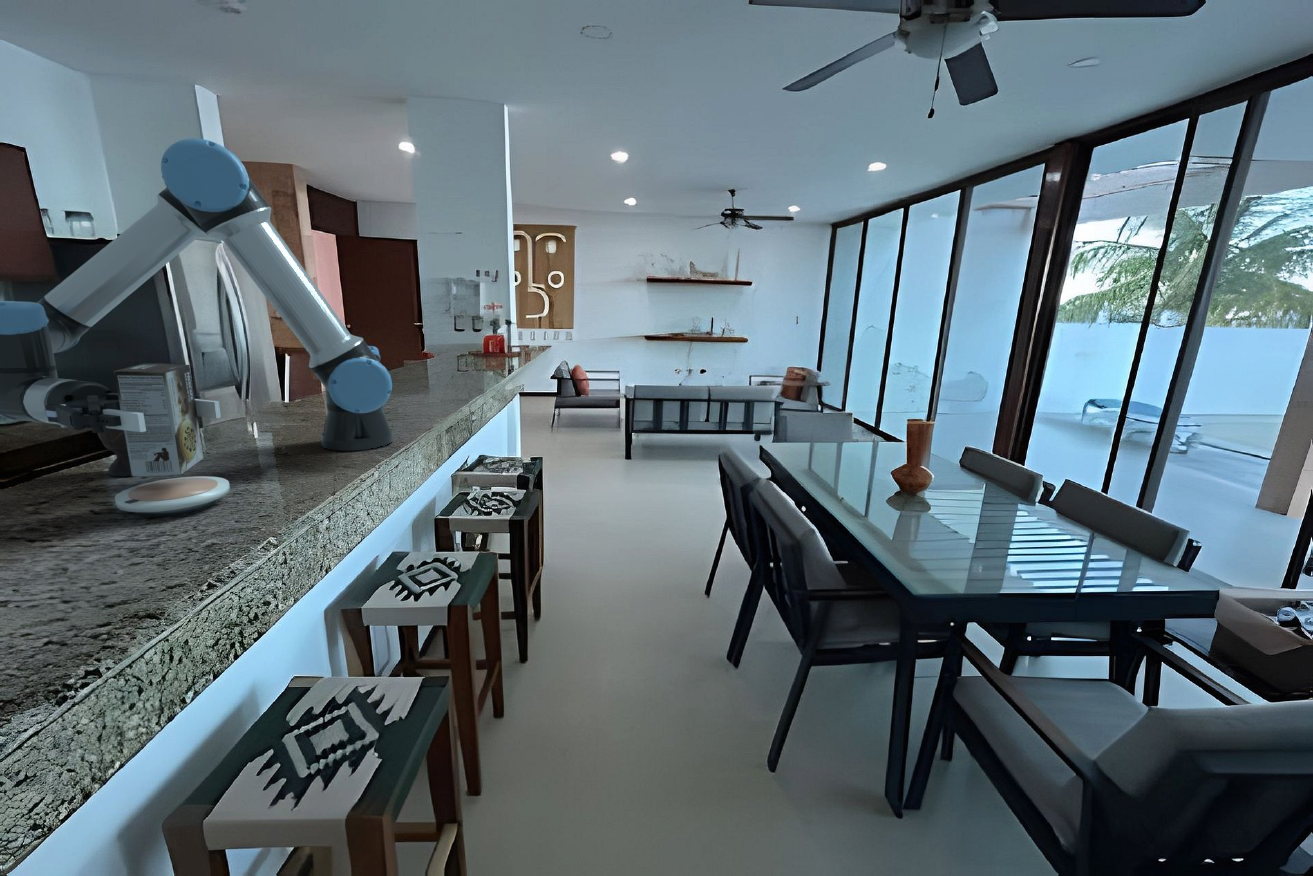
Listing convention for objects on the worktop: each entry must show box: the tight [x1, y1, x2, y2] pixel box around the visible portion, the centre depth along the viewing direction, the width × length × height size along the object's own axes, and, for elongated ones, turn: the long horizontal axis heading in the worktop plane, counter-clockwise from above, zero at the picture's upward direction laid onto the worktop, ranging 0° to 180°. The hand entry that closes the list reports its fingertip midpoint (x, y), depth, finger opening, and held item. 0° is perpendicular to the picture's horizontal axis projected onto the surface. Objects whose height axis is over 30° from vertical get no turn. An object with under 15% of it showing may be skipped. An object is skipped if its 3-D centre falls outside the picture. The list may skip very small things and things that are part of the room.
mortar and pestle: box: [97, 426, 132, 477], centre depth 104 cm, size 12×9×20 cm
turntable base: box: [135, 499, 217, 519], centre depth 90 cm, size 10×10×2 cm
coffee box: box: [113, 363, 204, 477], centre depth 87 cm, size 9×6×16 cm
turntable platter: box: [114, 475, 231, 513], centre depth 90 cm, size 14×14×1 cm
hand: (182, 415), depth 86 cm, fingers closed on coffee box, 11 cm apart
